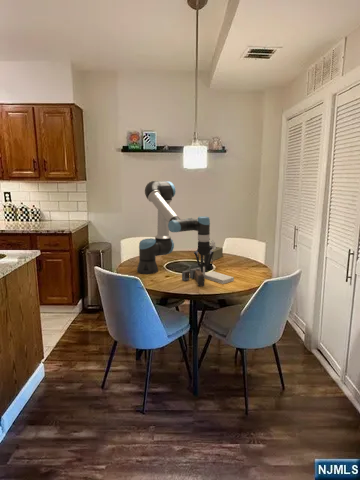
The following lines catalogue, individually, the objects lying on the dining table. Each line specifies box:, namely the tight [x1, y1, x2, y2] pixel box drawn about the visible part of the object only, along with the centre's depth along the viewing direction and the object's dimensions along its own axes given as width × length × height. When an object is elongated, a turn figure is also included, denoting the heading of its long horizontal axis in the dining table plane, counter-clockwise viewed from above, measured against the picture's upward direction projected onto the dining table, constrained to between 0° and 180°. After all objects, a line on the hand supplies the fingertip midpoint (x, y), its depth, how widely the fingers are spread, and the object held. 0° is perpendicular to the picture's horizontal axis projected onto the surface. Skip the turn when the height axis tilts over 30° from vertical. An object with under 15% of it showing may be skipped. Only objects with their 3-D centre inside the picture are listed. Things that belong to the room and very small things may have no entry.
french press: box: [197, 245, 213, 271], centre depth 243 cm, size 12×9×23 cm
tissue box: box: [203, 239, 224, 261], centre depth 278 cm, size 19×10×16 cm, turn 149°
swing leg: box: [195, 270, 206, 287], centre depth 210 cm, size 4×16×6 cm, turn 5°
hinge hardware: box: [181, 266, 201, 282], centre depth 218 cm, size 16×6×7 cm, turn 131°
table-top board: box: [205, 271, 235, 285], centre depth 218 cm, size 11×19×2 cm, turn 41°
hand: (203, 276), depth 208 cm, fingers closed
